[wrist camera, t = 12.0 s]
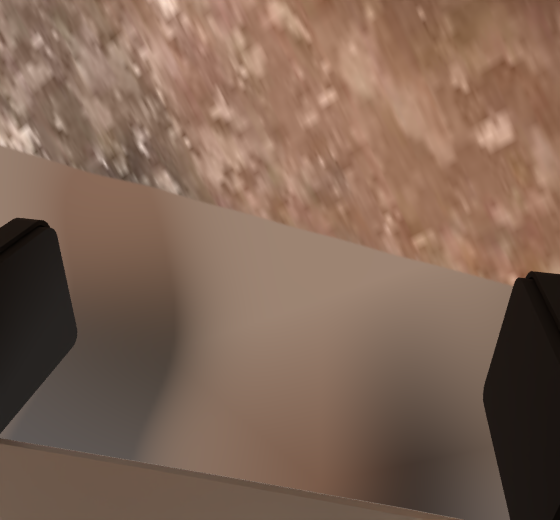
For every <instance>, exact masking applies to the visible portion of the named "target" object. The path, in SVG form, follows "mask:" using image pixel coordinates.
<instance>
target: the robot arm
mask: <svg viewBox="0 0 560 520" xmlns="http://www.w3.org/2000/svg"><path fill="white" fill-rule="evenodd" d="M76 338H77V327H76V322H75V317H74V313H73V308H72V303H71V299H70V294H69V290H68V285H67V280H66V275H65V270H64V266H63V261H62V257H61V252H60V247H59V242H58V238H57V234H56V232H55V230H54V229H52V228H50V226H49V225H48V223H47V222H45V221H44V220H34V219H25V218H15V219H13V220H11V221H10V222H8V223H7V224H5V225H4V226H2V227H1V228H0V433H1V432H2V431H3V430H4V429H5V427H6V426H7V425H8V424H9V422H10V421H11V420H12V419H13V418H14V417H15V415H16V414H17V413H18V412H19V411H20V409H21V408H22V407H23V406H24V404H25V403H26V402H27V401H28V400H29V399H30V397H31V396H32V395H33V394H34V393H35V391H36V390H37V389H38V388H39V387H40V385H41V384H42V383H43V382H44V381H45V379H46V378H47V377H48V376H49V375H50V373H51V372H52V371H53V370H54V369H55V367H56V366H57V365H58V364H59V363H60V361H61V360H62V359H63V358H64V357H65V355H66V354H67V353H68V352H69V351H70V349H71V348H72V347H73V345H74V344H75V341H76ZM483 402H484V407H485V412H486V416H487V420H488V425H489V429H490V433H491V438H492V442H493V446H494V451H495V455H496V459H497V464H498V468H499V473H500V477H501V481H502V486H503V490H504V494H505V499H506V503H507V507H508V512H509V516H510V520H560V274H552V273H543V272H533V271H531V272H529V273H528V275H527V276H526V278H517V279H516V281H515V283H514V286H513V289H512V293H511V296H510V300H509V303H508V306H507V310H506V313H505V318H504V320H503V324H502V327H501V330H500V334H499V337H498V340H497V344H496V347H495V351H494V354H493V358H492V361H491V364H490V368H489V372H488V375H487V378H486V381H485V385H484V392H483ZM0 520H463V519H457V518H451V517H446V516H441V515H436V514H430V513H425V512H420V511H415V510H410V509H405V508H399V507H394V506H388V505H383V504H377V503H372V502H366V501H360V500H354V499H349V498H343V497H338V496H332V495H326V494H321V493H315V492H310V491H303V490H298V489H293V488H287V487H281V486H276V485H270V484H264V483H258V482H253V481H247V480H242V479H236V478H230V477H224V476H219V475H213V474H207V473H201V472H195V471H190V470H184V469H178V468H172V467H167V466H161V465H155V464H149V463H143V462H138V461H132V460H126V459H120V458H114V457H108V456H102V455H96V454H90V453H85V452H79V451H73V450H67V449H61V448H55V447H49V446H43V445H37V444H31V443H25V442H19V441H13V440H7V439H1V438H0Z"/></svg>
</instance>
